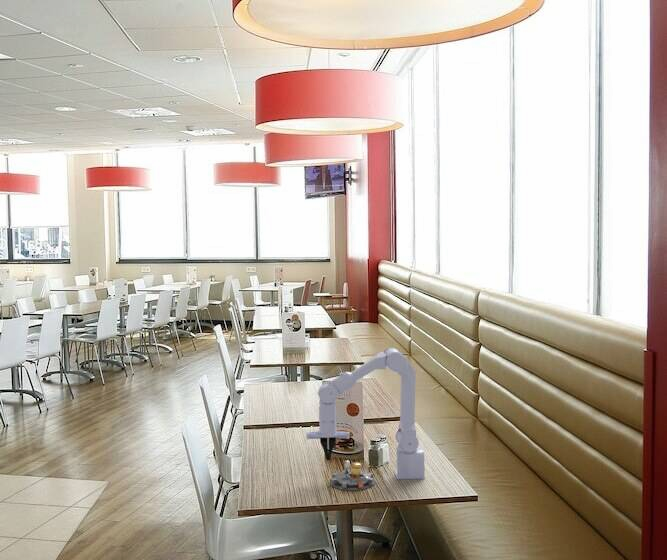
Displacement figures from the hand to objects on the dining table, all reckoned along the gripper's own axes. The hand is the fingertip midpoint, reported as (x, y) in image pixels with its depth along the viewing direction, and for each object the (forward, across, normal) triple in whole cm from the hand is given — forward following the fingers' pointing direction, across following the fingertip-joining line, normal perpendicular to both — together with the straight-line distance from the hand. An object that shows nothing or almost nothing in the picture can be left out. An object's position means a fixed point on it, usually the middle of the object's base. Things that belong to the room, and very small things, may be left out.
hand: (328, 459), depth 246 cm
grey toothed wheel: (+7, -8, +4) cm, 11 cm away
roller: (+4, -9, +7) cm, 12 cm away
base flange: (+7, -8, +4) cm, 11 cm away
